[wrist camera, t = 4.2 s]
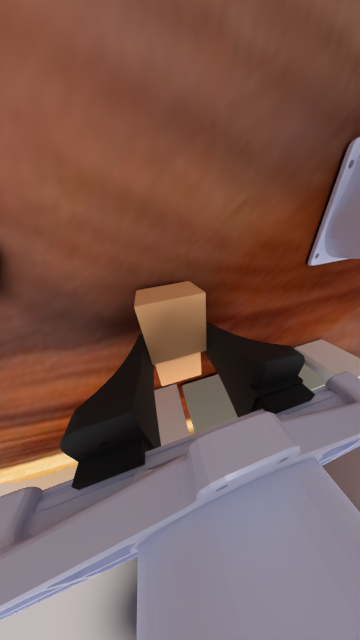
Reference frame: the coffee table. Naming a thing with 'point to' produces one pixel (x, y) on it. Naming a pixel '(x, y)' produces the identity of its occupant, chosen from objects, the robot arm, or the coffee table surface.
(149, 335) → the stepped wooden block
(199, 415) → the door
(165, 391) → the door frame
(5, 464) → the coffee table surface
